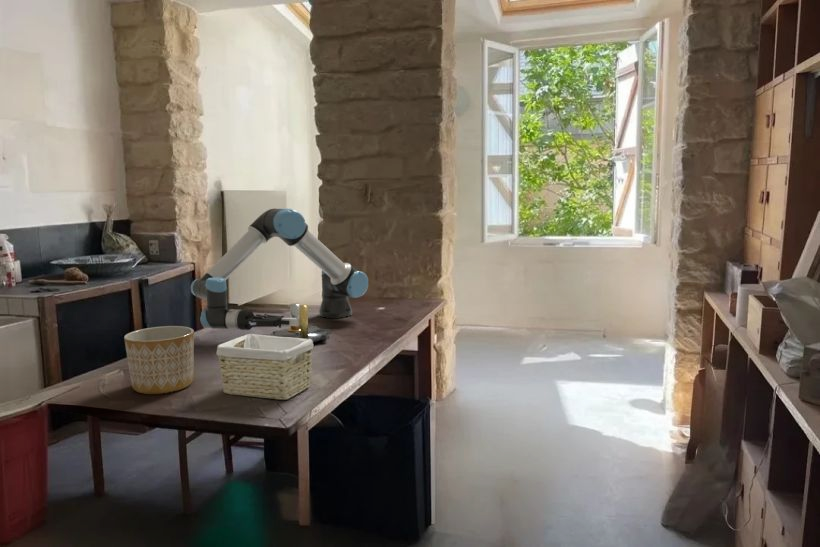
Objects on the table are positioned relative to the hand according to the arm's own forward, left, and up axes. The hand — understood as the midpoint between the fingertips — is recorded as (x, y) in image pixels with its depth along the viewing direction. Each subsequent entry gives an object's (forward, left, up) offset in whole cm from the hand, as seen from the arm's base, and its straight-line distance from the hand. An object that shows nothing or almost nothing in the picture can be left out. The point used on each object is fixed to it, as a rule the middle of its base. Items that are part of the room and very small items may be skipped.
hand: (298, 322), depth 232 cm
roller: (-1, -15, -6) cm, 16 cm away
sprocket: (-2, -9, -8) cm, 12 cm away
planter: (+45, +33, -9) cm, 57 cm away
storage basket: (+16, +48, -10) cm, 51 cm away
